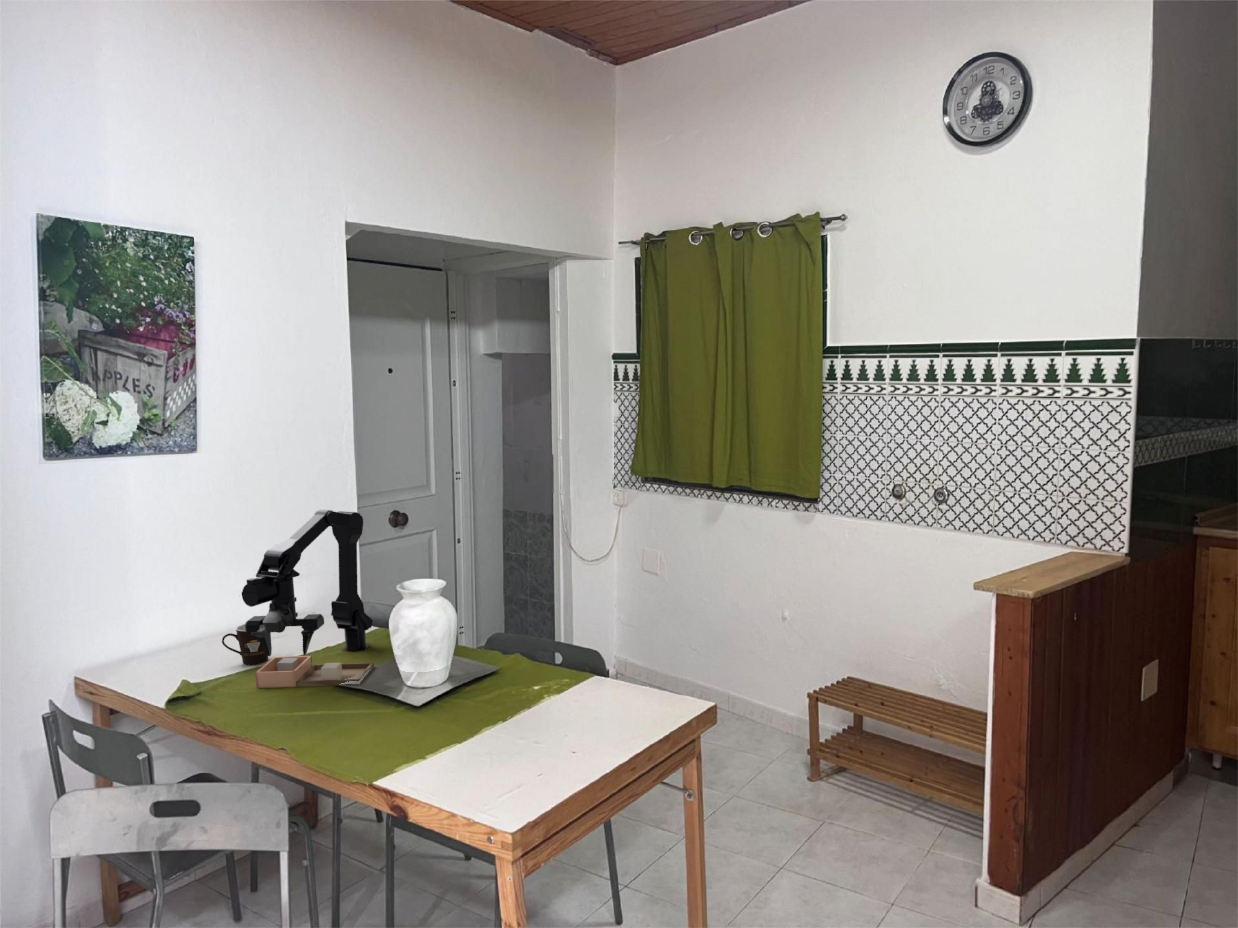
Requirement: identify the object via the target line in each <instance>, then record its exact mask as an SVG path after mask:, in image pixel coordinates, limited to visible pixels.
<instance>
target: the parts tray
mask: <svg viewBox="0 0 1238 928" xmlns="http://www.w3.org/2000/svg"><path fill="white" fill-rule="evenodd" d="M325 664H326V663H318V664H317V663H315V664H312V667H311V668H310V669H308V670H307V671H306V672H305V673H304V674H303V675H302V676H301V677H300V678H299V679H298V680H297V681H296V687H300V688H301V687H326V686H329V687H330V686H331V687H333V686H334V687H335V686H340V685H339V684H341V683H345V682H347V681H348V682H349V681H359V680H360V679H361V678H362V676H364V674H365V673H366V672H367V671H368V670H370V669H372V668H373V667H375V663H374V662H352V663H351V662H349V663H342V677H343V678H342V679H341V680H322V679H321V668H322V667H323V666H324V665H325ZM373 669H374V668H373ZM373 669H372V670H373ZM362 672H363V673H362ZM360 673H362V674H361V676H360V677H359V678H358V679H348V678H351V677H353V676H355V675H356V674H360ZM345 679H346V680H345Z"/></svg>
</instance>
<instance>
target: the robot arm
mask: <svg viewBox="0 0 1238 928" xmlns="http://www.w3.org/2000/svg"><path fill="white" fill-rule="evenodd" d="M329 527H331V530H332V531H331V532H332V535H333V537H334V539H335V540H336V541H337V544H338V596H337V598H336V599H335V600H332V601H331V603H330V605H331V614H330V616H332V619H333V622H335V624H336V627H337V629H339V630H344V643H345V647H344V648H343V649H342V650H341V652H364V651H366V649H368V648H369V647H370V646H371V643H369V642H368V643H367V635H366V634H367V633H366V632H367V631H368V630H369V629H371V628H372V626H373V619H372V617H370V616H369V615H368V614H366V612H365V608H364V602H363V600H362V599H361V597H360V595H359V592H358V542H359V540H360V538H361V536H362V535H363V528H364V518H363V516H362V515H361V513H359V512H358V511H357V512H356V511H341V510H340V511H333V510H331V509H319V510H317V511H315V513H314V515H313V516H312V517H310V518H309V519H308V521H306V522H305V523H304V524H303V525H302V526H301V527H300V528H298V530H297V531H296V532H295V533H294V534H292V535H290V537H289V538H288V539H286V540H284V541H282V542H279V543H277V544H275V545H273V546H272V547H269V548H268V549H267V550H266V551H265V553H264V555H263V558H262V561H261V563H260V565H259V568H258V569H257V572H256V574H255V578H254V577H253V578H248V579H246V584H245V585H244V586H243V588H242V591H241V598H242V601H243V603H244V604H245V605H246V606H248V607H250V608H251V607H256V606H259V605H261V604H265V603H268V602H270V603H269V605H268V608H269V609H268V613H267V614H266V615H254V616H253V617H251V618H249V619H248V620H246V622H245V623H244V624H245V632H251V635H255V636H256V637H258V638H259V639H260V641H261V643H262V644H263V646H264V648H265V650H266V652H267V654H268V657H270V656H272V653H273V652H272V651H273V648H272V633H277V634H278V633H279V634H280V633H283V632H285V630H286V628H287V627H301V628H302V631H301V632H300V634H301V636H302V653H303V656H307V653H308V649H309V646H310V643H311V641H312V637H313V636H314V634H315V632H316V631H317V630H319V629H320V628H321V627H322V626H324V625H325V617H324V616H323V615H322V614H321V613H316V614H315V613H313V614H307V615H305V616H304V617H303V618H297V617H299V616H298V615H299V613H298V612H296V610H297V609H296V602H297V597H296V596H295V586H294V578H296V577H299V576H300V572H298V571H296V570H295V569H294V568H295V567H296V566H297V564H298V563H299V561H301V558H302V557H301V556H302V554H303V552H304V551H305V550H306V549H307V548H308V547H309V546H310V545H311V544H312V543H314V541H315V540H316V539H317V538H318V537H319V536H320V535H322V534H323V532H325V531H326V530H327V529H328V528H329Z"/></svg>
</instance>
